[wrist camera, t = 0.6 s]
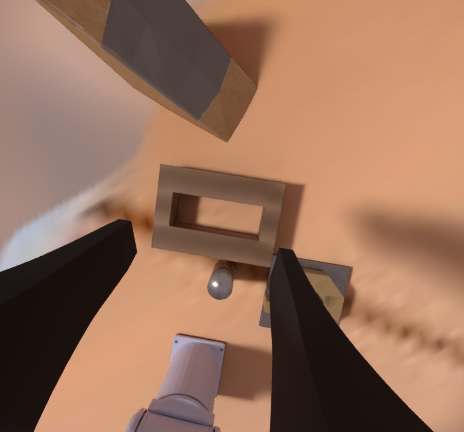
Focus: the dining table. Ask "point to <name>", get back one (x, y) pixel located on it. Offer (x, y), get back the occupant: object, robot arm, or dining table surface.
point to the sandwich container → (163, 57)
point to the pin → (221, 280)
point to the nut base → (333, 271)
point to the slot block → (209, 239)
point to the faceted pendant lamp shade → (320, 293)
